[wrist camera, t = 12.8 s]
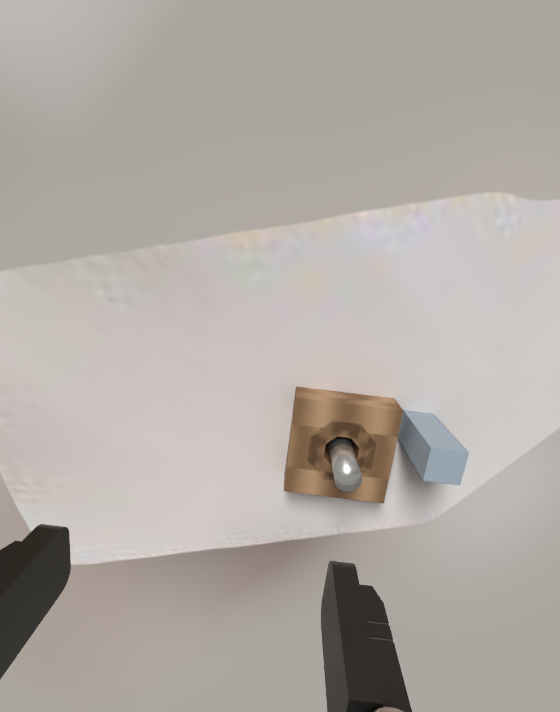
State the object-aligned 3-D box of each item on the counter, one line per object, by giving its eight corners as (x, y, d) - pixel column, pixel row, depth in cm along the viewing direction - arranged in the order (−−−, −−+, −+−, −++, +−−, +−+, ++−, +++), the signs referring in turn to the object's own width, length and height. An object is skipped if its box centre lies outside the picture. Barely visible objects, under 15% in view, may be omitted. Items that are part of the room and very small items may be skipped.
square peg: (433, 413, 48) (469, 452, 38) (427, 441, 49) (459, 485, 39) (403, 410, 48) (431, 447, 38) (397, 437, 49) (423, 480, 39)
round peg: (350, 428, 49) (364, 469, 39) (347, 448, 49) (359, 493, 40) (328, 425, 49) (336, 465, 39) (325, 445, 50) (332, 489, 40)
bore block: (394, 398, 47) (403, 410, 44) (376, 484, 51) (383, 503, 47) (296, 386, 48) (296, 397, 44) (284, 473, 51) (283, 490, 47)
